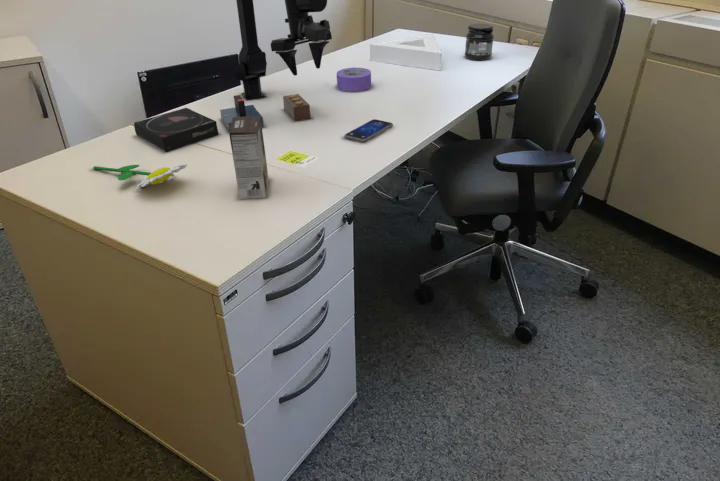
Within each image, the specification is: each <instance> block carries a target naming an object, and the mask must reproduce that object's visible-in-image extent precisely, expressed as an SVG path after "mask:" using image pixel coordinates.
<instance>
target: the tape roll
mask: <svg viewBox="0 0 720 481" xmlns="http://www.w3.org/2000/svg"><path fill="white" fill-rule="evenodd" d="M371 87H372V71H371V70H370V69H369V68H366V67H365V68H364V67H347V68H342V69H340V70H339V69H338V70H337V71H336V88H337V89H338V90H339V91H342V92H348V93H357V92H363V91H368V90H369V89H370V88H371Z"/></svg>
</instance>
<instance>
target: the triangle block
mask: <svg viewBox="0 0 720 481" xmlns="http://www.w3.org/2000/svg"><path fill="white" fill-rule="evenodd" d="M369 61H370V62H374V63H375V62H376V63H383V64H390V65H396V66H404V67H411V68H417V69H424V70H425V69H427V70H433V71H439V72H440V71H441V67H442V51H441V49H440V46H439V44H438V41H437V40H436V37H435V35H434V33H432V34H431V33H430V34H425V35H417V36H413V37H406V38H400V39H394V40H388V41H381V42H374V43H370V44H369Z"/></svg>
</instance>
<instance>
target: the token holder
mask: <svg viewBox="0 0 720 481" xmlns="http://www.w3.org/2000/svg"><path fill="white" fill-rule="evenodd" d="M282 100H283V102H282V103H283V111H284V112H285V113H286V114H287V115H288V116H289V117H290V118H291V119H292V120H293V121H294V122H298V121H306V120H310V119H311V105H310V103H308V102H307V101H306V100H305V99H304V98H303V97H302V95H301V94H299V93H296V94H295V93H294V94H289V95H283V96H282Z"/></svg>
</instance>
